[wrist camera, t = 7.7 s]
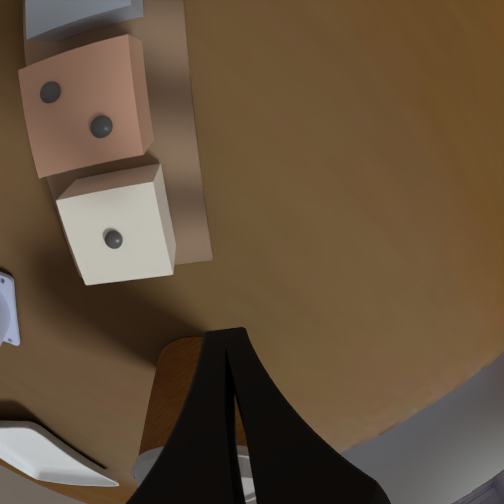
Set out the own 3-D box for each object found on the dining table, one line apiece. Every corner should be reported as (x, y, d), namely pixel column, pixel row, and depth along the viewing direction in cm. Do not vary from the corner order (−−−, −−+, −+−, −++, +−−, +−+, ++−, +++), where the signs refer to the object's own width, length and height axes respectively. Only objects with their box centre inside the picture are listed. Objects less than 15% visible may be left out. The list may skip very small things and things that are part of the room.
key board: (212, 251, 21) (214, 281, 18) (84, 268, 20) (70, 298, 17) (180, -78, 9) (177, -103, 7) (31, -35, 9) (6, -47, 6)
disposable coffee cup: (123, 330, 23) (103, 474, 13) (243, 311, 24) (273, 463, 14) (161, 396, 28) (162, 510, 18) (258, 382, 29) (282, 498, 19)
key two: (153, 139, 14) (142, 156, 12) (63, 159, 14) (36, 180, 11) (142, 41, 12) (126, 33, 9) (47, 68, 11) (15, 70, 9)
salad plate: (123, 471, 40) (122, 488, 37) (38, 467, 40) (36, 481, 37) (36, 406, 29) (30, 429, 26) (-42, 406, 29) (-47, 423, 26)
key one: (176, 244, 19) (172, 276, 16) (98, 255, 18) (84, 287, 16) (160, 163, 16) (152, 183, 13) (76, 179, 16) (54, 202, 13)
